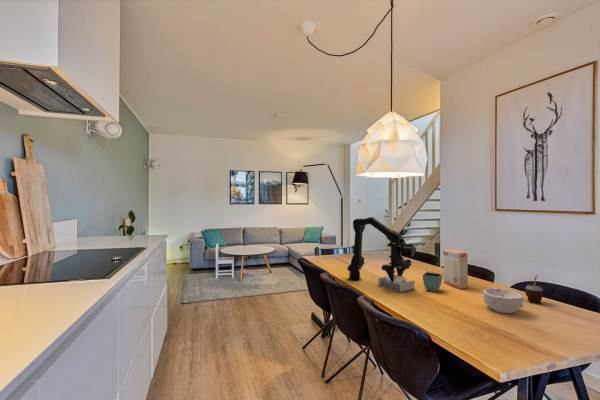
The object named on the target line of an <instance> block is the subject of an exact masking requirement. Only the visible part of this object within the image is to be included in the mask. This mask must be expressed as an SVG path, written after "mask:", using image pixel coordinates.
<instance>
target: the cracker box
mask: <svg viewBox="0 0 600 400" xmlns="http://www.w3.org/2000/svg"><path fill="white" fill-rule="evenodd" d="M442 253H443V283H444V284H446V285H448V286H451V287H453V288H456V289H459V290H464V289H466V290H467V289H468V283H469V282H468V275H469V274H468V253H467V252H465V251H459V250H456V249H455V250H454V249H451V248H450V249H443V252H442Z"/></svg>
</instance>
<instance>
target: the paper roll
mask: <svg viewBox="0 0 600 400" xmlns="http://www.w3.org/2000/svg"><path fill="white" fill-rule="evenodd" d="M385 276H386V282H388V283H392V284H396V285H399V286H400V283H404V282H408V280H407V278H406V277H405V276H403V275H402V276H398V274H394V279H393V282H391V280H390V278H389V276H388V274H387V275H385Z"/></svg>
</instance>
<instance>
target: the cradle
mask: <svg viewBox="0 0 600 400" xmlns="http://www.w3.org/2000/svg"><path fill="white" fill-rule="evenodd" d="M386 276H387V275H385V276H381V277H378V278H377V279H378V280H377V283H378V284H377V285H378V287H380V288H383V289H387V290H390V291H393V292H397V293H400V294H403V293H406V292H409V291H414V290H415V288H416V287H415V285H416V284H415V280H414V279H412V280H409V281H408V280H407V282H404V283H400V286H399V285H396V284H392V283H388V282H386Z"/></svg>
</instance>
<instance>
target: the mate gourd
mask: <svg viewBox="0 0 600 400" xmlns="http://www.w3.org/2000/svg"><path fill="white" fill-rule="evenodd" d="M538 276H539V274H536V275H535V277H534V279H533V280H534V281H533V284H527V285H526V287H525V289H524V291H525V292H524V293H525V295H526V297H527V301H528V302H529V304H538V305H542V303H541V302H542V300H543V296H544V289H543V288H542V287H541V286H539V285H536V282H537V277H538Z"/></svg>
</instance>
